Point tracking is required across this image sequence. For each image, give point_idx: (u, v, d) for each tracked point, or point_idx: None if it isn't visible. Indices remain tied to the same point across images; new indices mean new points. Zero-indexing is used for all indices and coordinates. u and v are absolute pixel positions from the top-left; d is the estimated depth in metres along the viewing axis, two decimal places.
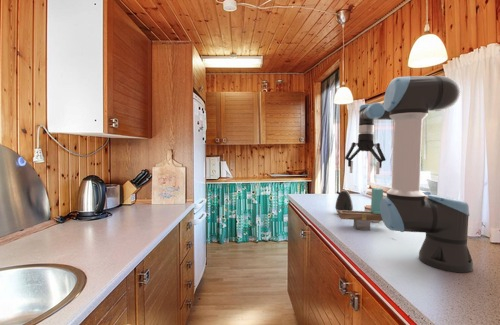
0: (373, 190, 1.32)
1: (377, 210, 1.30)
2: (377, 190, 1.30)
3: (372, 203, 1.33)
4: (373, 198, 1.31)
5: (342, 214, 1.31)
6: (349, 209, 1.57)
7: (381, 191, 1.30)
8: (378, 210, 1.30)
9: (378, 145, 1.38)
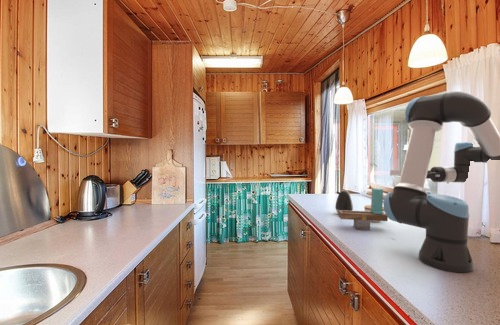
0: (373, 190, 1.32)
1: (377, 210, 1.30)
2: (377, 190, 1.30)
3: (372, 203, 1.33)
4: (373, 198, 1.31)
5: (342, 214, 1.31)
6: (349, 209, 1.57)
7: (381, 191, 1.30)
8: (378, 210, 1.30)
9: (436, 172, 1.23)
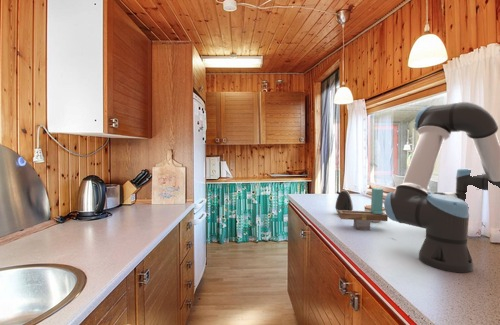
0: (373, 190, 1.32)
1: (377, 210, 1.30)
2: (377, 190, 1.30)
3: (372, 203, 1.33)
4: (373, 198, 1.31)
5: (342, 214, 1.31)
6: (349, 209, 1.57)
7: (381, 191, 1.30)
8: (378, 210, 1.30)
9: None
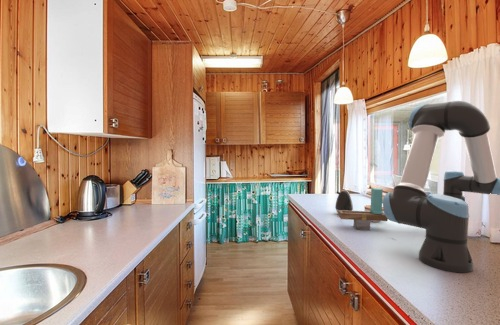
0: (372, 190, 1.32)
1: (376, 210, 1.30)
2: (376, 190, 1.30)
3: (371, 203, 1.33)
4: (372, 198, 1.31)
5: (342, 214, 1.31)
6: (349, 209, 1.57)
7: (380, 191, 1.30)
8: (377, 210, 1.30)
9: None
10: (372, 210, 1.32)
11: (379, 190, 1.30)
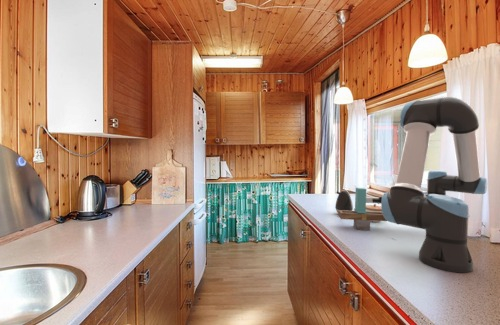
0: (357, 189, 1.32)
1: (360, 209, 1.31)
2: (360, 189, 1.31)
3: (356, 202, 1.33)
4: (356, 197, 1.32)
5: (342, 214, 1.31)
6: (349, 209, 1.57)
7: (364, 190, 1.31)
8: (361, 209, 1.31)
9: None
10: (356, 209, 1.33)
11: (363, 189, 1.31)
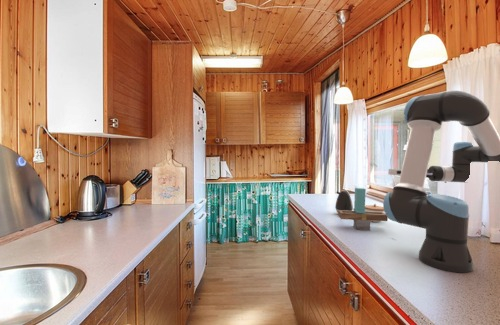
0: (356, 189, 1.33)
1: (360, 209, 1.31)
2: (359, 189, 1.31)
3: (355, 202, 1.34)
4: (356, 197, 1.32)
5: (342, 214, 1.31)
6: (349, 209, 1.57)
7: (363, 190, 1.31)
8: (361, 209, 1.31)
9: (428, 171, 1.24)
10: (355, 209, 1.33)
11: (362, 189, 1.31)
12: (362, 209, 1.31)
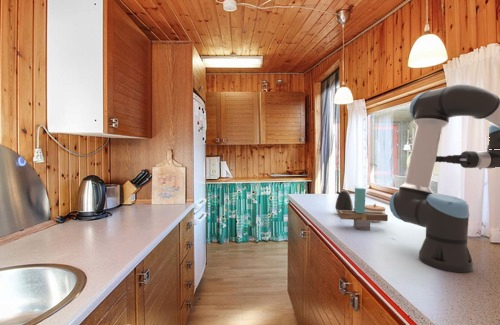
0: (356, 189, 1.33)
1: (360, 209, 1.31)
2: (359, 189, 1.31)
3: (355, 202, 1.34)
4: (356, 197, 1.32)
5: (342, 214, 1.31)
6: (349, 209, 1.57)
7: (363, 190, 1.31)
8: (361, 209, 1.31)
9: (462, 156, 1.13)
10: (355, 209, 1.33)
11: (362, 189, 1.31)
12: (362, 209, 1.31)
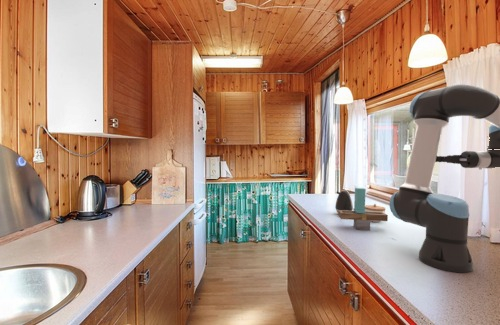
0: (356, 189, 1.33)
1: (360, 209, 1.31)
2: (359, 189, 1.31)
3: (355, 202, 1.34)
4: (356, 197, 1.32)
5: (342, 214, 1.31)
6: (349, 209, 1.57)
7: (363, 190, 1.31)
8: (361, 209, 1.31)
9: (462, 156, 1.13)
10: (355, 209, 1.33)
11: (362, 189, 1.31)
12: (362, 209, 1.31)
